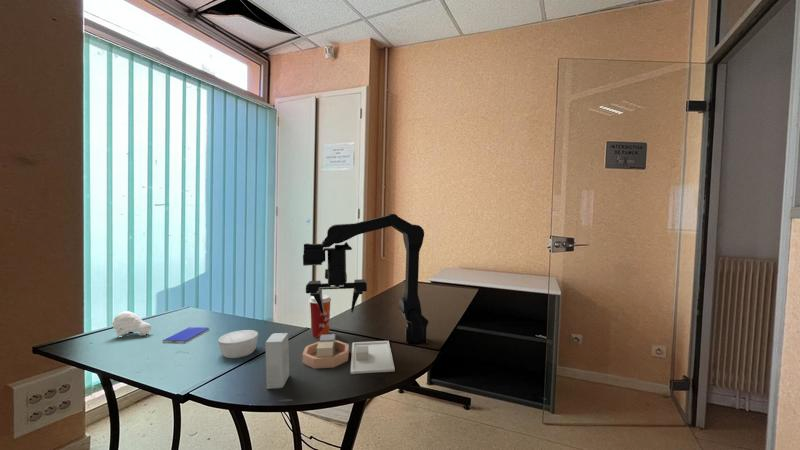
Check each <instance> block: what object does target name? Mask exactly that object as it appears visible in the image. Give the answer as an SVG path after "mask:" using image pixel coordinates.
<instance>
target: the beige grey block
mask: <svg viewBox="0 0 800 450" xmlns="http://www.w3.org/2000/svg"><path fill="white" fill-rule="evenodd" d="M361 360H369V357H368V346H356V361H361Z"/></svg>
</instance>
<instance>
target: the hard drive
mask: <svg viewBox="0 0 800 450" xmlns="http://www.w3.org/2000/svg"><path fill="white" fill-rule="evenodd" d="M208 331H210V327H207V326H206V327H205V326H204V327H200V326H199V327H196V326H195V327H194V326H189V327H187V328H185V329H182V330H180V331H179V332H177V333H175V334H173V335H171V336H168V337H166V338H165V339H162V343H163V342H166V343H167V344H169V343H170V344H186V343H189V342H190V341H192V340H194V339H196V338H198V337H200V336H202V335H203V334H204V333H207V332H208Z"/></svg>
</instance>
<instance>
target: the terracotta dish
mask: <svg viewBox="0 0 800 450" xmlns="http://www.w3.org/2000/svg"><path fill="white" fill-rule="evenodd" d="M318 342H319V341H316V342H314V343H311V344H309V345H306V346H305V347H304V350H303V352H302V364H304V365H306V366H308V367H310V368H312V369H327V368H335V367H338V366H339V365H342V364H344V363H346V362H348V361H349V351H350V350H349V349H350V346H349V343H345V342H344V341H341V340H337V339H335V355H334V356H333V357H317V345H318Z"/></svg>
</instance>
